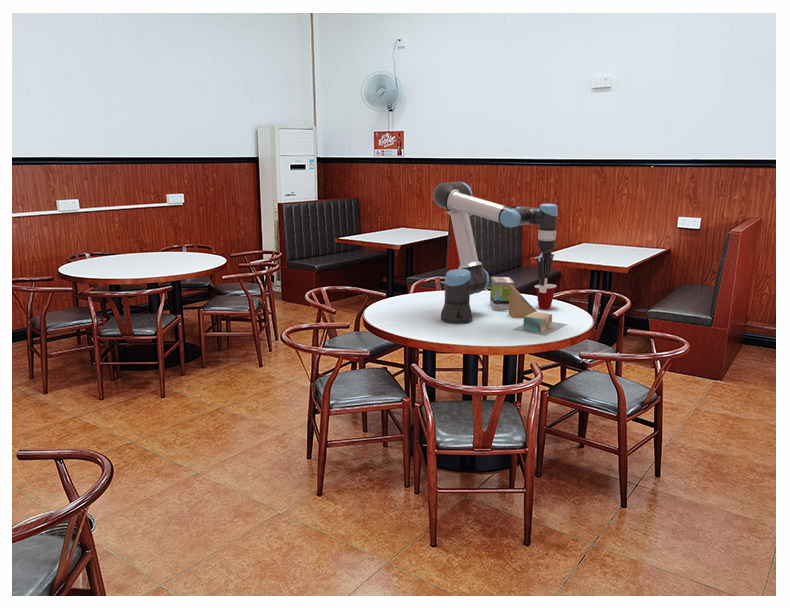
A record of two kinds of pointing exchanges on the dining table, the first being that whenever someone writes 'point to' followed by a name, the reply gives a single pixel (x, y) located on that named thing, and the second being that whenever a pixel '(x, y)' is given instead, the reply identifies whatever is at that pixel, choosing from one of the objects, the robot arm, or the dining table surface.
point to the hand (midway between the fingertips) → (542, 292)
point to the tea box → (500, 292)
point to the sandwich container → (518, 304)
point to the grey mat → (554, 327)
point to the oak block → (537, 322)
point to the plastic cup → (545, 296)
